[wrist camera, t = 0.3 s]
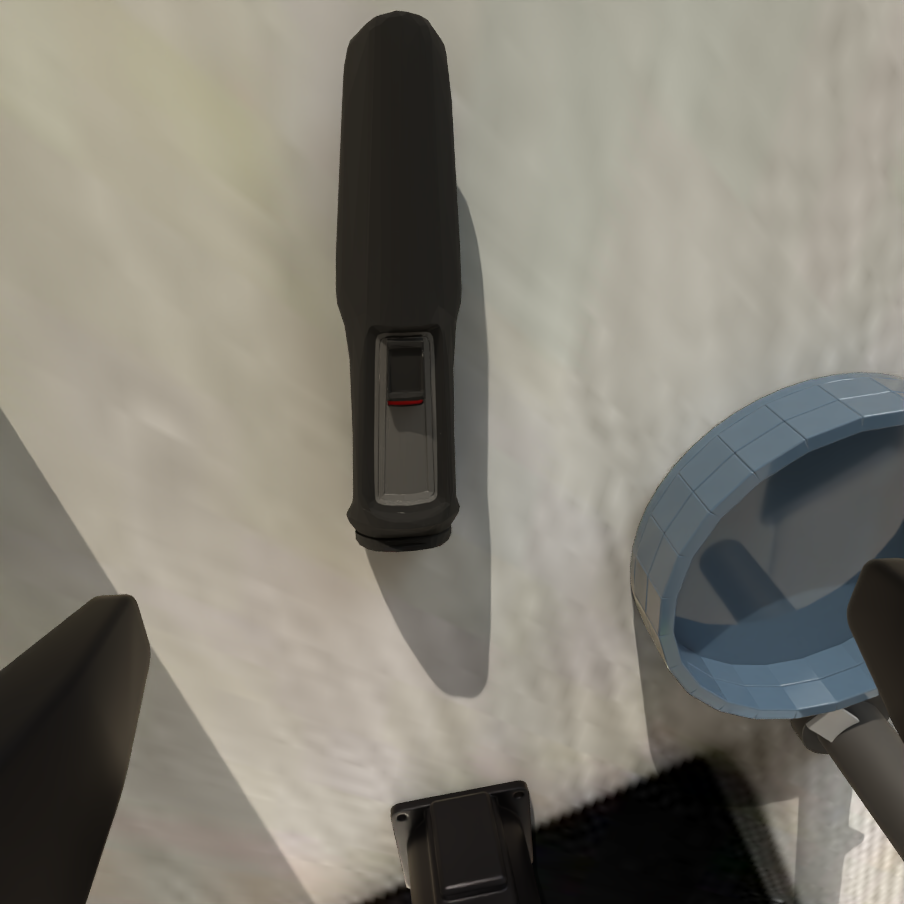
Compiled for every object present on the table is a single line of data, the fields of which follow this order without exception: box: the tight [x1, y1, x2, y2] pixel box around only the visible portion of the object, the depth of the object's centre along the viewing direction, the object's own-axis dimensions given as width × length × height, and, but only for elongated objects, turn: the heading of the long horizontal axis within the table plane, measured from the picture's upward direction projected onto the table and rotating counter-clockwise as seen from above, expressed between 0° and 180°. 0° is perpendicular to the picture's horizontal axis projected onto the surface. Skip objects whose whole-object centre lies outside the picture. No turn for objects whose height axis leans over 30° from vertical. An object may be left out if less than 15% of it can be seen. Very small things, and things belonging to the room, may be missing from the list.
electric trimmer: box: [336, 11, 461, 552], centre depth 20 cm, size 4×16×3 cm, turn 178°
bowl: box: [630, 373, 904, 719], centre depth 27 cm, size 14×14×3 cm
